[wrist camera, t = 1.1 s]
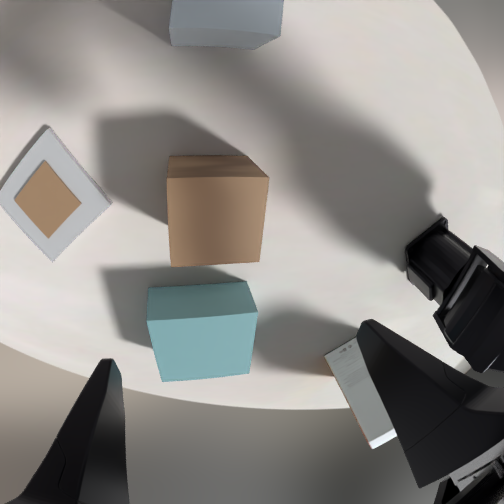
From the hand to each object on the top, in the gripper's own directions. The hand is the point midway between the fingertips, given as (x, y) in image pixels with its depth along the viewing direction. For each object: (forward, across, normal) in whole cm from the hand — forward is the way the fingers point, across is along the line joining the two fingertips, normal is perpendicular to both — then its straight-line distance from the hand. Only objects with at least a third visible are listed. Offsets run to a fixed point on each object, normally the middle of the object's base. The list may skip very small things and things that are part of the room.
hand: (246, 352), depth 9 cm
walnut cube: (+12, 0, -1) cm, 12 cm away
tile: (+12, +11, -2) cm, 17 cm away
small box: (+12, -18, +22) cm, 31 cm away
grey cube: (+12, 0, -13) cm, 18 cm away
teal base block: (+12, +1, +11) cm, 16 cm away
